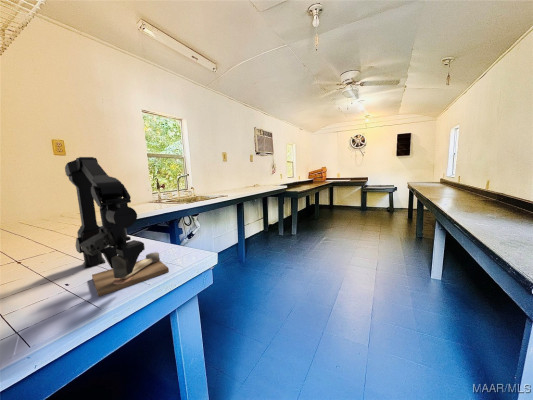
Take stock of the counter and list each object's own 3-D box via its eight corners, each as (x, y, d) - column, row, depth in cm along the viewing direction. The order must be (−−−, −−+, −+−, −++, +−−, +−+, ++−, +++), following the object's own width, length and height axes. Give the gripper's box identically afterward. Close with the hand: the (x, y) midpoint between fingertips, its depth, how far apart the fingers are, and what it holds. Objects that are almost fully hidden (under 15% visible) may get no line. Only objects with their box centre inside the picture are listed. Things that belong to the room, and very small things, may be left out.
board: (92, 278, 74) (91, 274, 74) (155, 259, 88) (154, 255, 87) (98, 296, 63) (97, 291, 63) (168, 271, 77) (168, 267, 76)
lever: (152, 258, 85) (149, 239, 84) (162, 258, 84) (159, 239, 83) (111, 282, 67) (107, 259, 66) (123, 283, 66) (119, 260, 65)
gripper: (66, 226, 63) (75, 276, 66) (99, 233, 54) (108, 291, 57) (108, 217, 73) (115, 261, 75) (142, 222, 64) (149, 272, 66)
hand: (121, 270), depth 68 cm, fingers open, 9 cm apart
